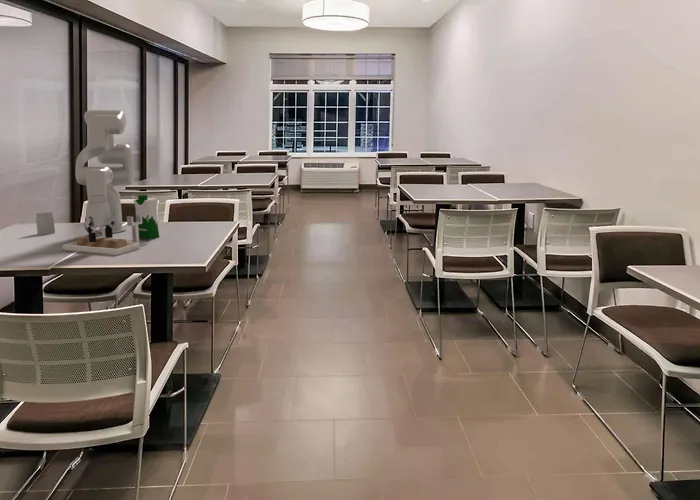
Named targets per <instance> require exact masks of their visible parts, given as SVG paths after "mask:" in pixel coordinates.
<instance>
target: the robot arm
mask: <svg viewBox="0 0 700 500" xmlns="http://www.w3.org/2000/svg"><path fill="white" fill-rule="evenodd" d="M83 117H84V122H85V123H86V125H87V145H86V147H84V148H83V149H82V150H81V151H80V152H79V154H78V155H77V157H76V161H75V179H76V182H77V183H78V184H79V185H80V186H81V185H82V186H83V185H84V186H86V195H87V203H86V205H85V206H86V209H85V221H84V222H83V223H82V224H83V227H84V230H86V232H87V234H88V237H89V242H96V237H97V233H96V230H97V228H99V229H98V230H97V231H98V232H99V233H100V234H102V227H101V226H105V227H106V228H105V236H106V238H112V239H113V234H114V233H115V234H116V233H121V232H122V233H123V232H126V231H127V228H126V227H124V226H123V218H122V217H123V216H122V203H121V193H120V192H119V191H118V190H117V189H116V188H115V187H116V186H117V187H120V186H121V187H122V186H125V187H126V186H132V185H133V184H134V182H135V169H134V159H133V158H134V157H133V152H132V148H131V146H130V145H129V144H127V143H115V137H114V136H115V135H121V134H123V133H124V132H125V128H126V125H127V118H126V113H124V111H122V110H119V109H118V110H113V109H108V110H107V109H92V110H91V109H90V110H86V111H85V112H84V115H83ZM95 157H96V160H97V162H98V163H100V164H102V165H103V166H85V164H86V163H87V162H88V161H89V160H91V159H93V158H95Z"/></svg>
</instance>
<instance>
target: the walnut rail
mask: <svg viewBox="0 0 700 500" xmlns="http://www.w3.org/2000/svg"><path fill="white" fill-rule="evenodd" d="M75 239H76V241H77V246H89V247H101V248H113V249H119V248H122V247H126V246H127V241H126V240H127V239H124V238H113V237H112V238H102V237H97V236H96V242H89V236H80V237H79V236H78V237H76V238H75Z"/></svg>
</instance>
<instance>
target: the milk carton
mask: <svg viewBox="0 0 700 500" xmlns="http://www.w3.org/2000/svg"><path fill="white" fill-rule="evenodd" d="M158 200H159V198H155V197H154V198H153V197H152V198H151V197H148V194H138V195H137V198H136V199H135V198H134V199H133V204H134V207H135V216H136V215H142V224H138V230H139V240H140V239H142V240H153V239H156V237H157V238H160V232H159V225H158V224H159V223H158V221H159V220H158V210H157V209H158Z"/></svg>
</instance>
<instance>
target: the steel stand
mask: <svg viewBox="0 0 700 500" xmlns="http://www.w3.org/2000/svg"><path fill="white" fill-rule="evenodd" d="M126 223H127V226H128V227H129V226H130V227H131V231H132V232H131V234H132V240H129V239H128V240H127V239H126V241H127V242H131V243H140V248H141V247H144V246H147V245H148V241H142V240H141V241H140V239H139V230H138V224H142V215H136V214H135V222H134V216H126ZM101 227H102V233H101V238H106V236H105V228H106V227H105V226H101Z"/></svg>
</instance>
